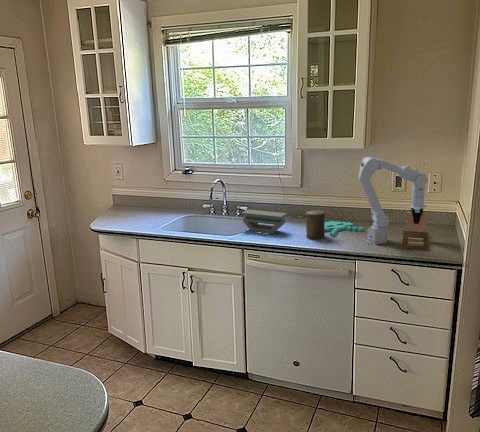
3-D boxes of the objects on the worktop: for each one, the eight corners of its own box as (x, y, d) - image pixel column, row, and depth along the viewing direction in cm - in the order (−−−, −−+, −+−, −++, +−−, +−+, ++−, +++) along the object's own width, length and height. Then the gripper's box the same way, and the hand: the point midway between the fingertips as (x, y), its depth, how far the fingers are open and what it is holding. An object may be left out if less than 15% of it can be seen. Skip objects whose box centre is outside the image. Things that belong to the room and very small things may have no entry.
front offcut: (423, 249, 212) (423, 243, 211) (407, 248, 214) (407, 242, 214) (423, 248, 213) (423, 242, 213) (407, 246, 216) (407, 241, 215)
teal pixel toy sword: (363, 231, 246) (342, 223, 264) (363, 228, 245) (342, 219, 263) (332, 237, 239) (313, 228, 257) (332, 233, 239) (313, 224, 257)
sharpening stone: (287, 231, 251) (287, 213, 248) (281, 235, 245) (281, 216, 242) (248, 227, 263) (247, 209, 260) (242, 230, 257) (241, 212, 254)
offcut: (423, 244, 218) (423, 239, 217) (407, 243, 220) (408, 238, 220) (423, 243, 219) (423, 238, 218) (407, 242, 222) (408, 237, 221)
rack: (430, 252, 209) (430, 247, 208) (400, 250, 214) (400, 245, 213) (428, 236, 232) (429, 231, 231) (402, 234, 237) (402, 230, 236)
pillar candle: (325, 239, 235) (325, 211, 231) (306, 239, 236) (306, 212, 232) (323, 234, 244) (323, 207, 241) (305, 234, 245) (305, 207, 241)
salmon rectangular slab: (425, 230, 222) (426, 213, 220) (406, 229, 225) (407, 212, 223) (425, 229, 223) (426, 212, 221) (406, 228, 226) (407, 211, 224)
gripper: (427, 200, 212) (425, 227, 215) (426, 193, 225) (424, 219, 228) (411, 199, 214) (409, 226, 218) (411, 193, 227) (410, 218, 231)
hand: (416, 223), depth 223 cm, fingers closed on salmon rectangular slab, 2 cm apart
